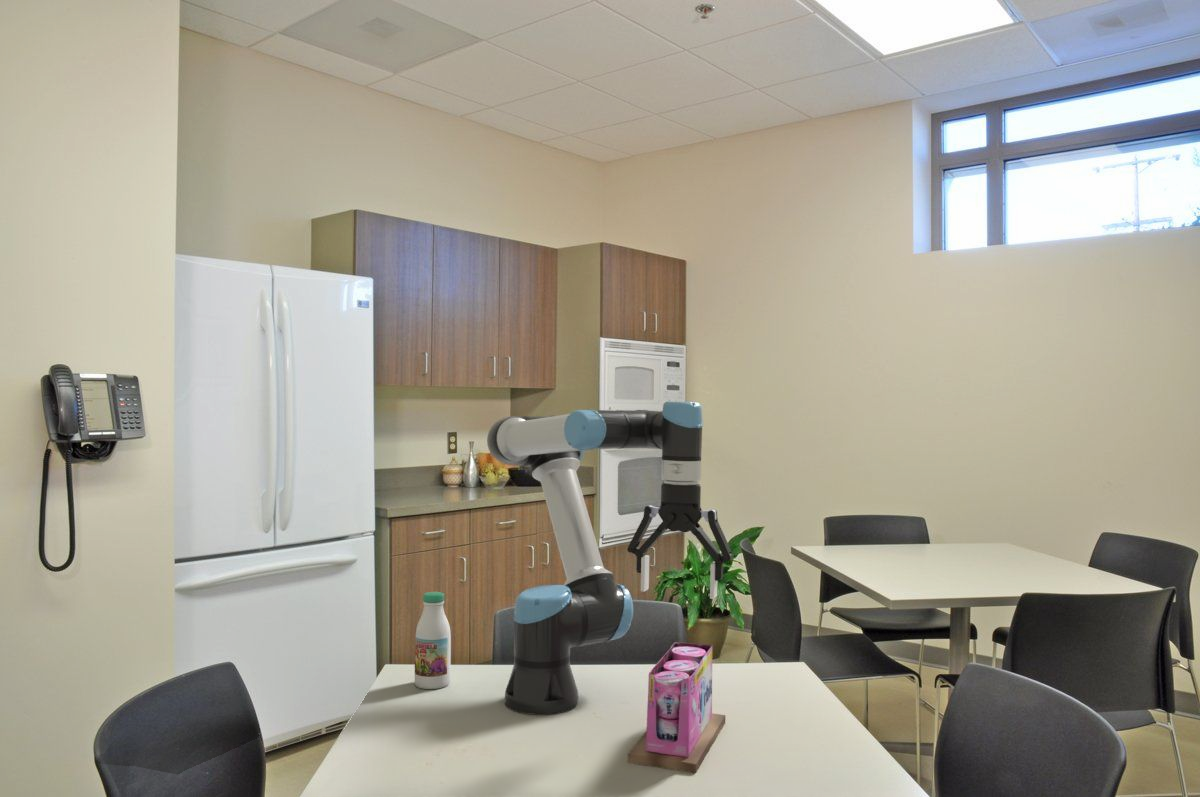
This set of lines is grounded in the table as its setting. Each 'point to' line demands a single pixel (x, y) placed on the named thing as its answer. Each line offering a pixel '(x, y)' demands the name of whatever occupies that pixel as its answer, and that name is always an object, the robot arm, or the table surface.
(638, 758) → the walnut board
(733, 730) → the table surface
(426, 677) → the milk bottle
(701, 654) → the gum box
